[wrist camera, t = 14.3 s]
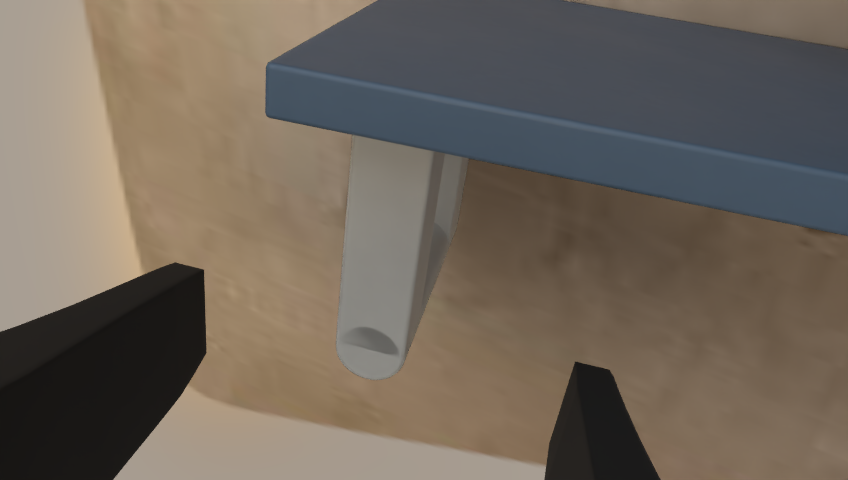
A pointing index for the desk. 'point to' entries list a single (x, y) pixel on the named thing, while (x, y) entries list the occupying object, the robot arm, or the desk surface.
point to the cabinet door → (550, 129)
